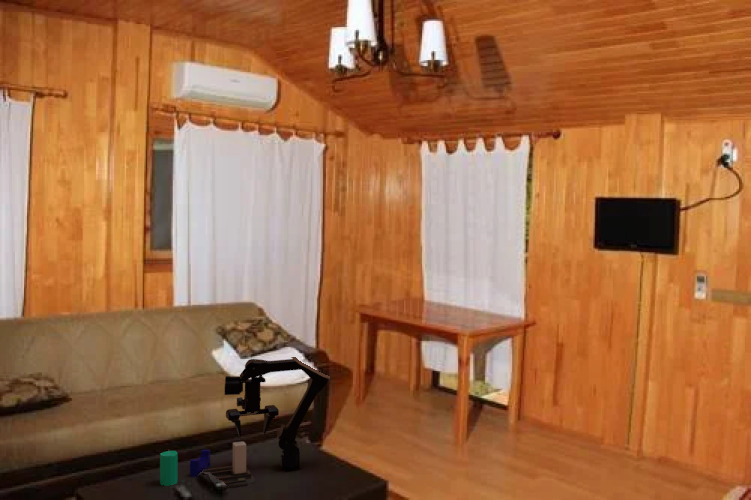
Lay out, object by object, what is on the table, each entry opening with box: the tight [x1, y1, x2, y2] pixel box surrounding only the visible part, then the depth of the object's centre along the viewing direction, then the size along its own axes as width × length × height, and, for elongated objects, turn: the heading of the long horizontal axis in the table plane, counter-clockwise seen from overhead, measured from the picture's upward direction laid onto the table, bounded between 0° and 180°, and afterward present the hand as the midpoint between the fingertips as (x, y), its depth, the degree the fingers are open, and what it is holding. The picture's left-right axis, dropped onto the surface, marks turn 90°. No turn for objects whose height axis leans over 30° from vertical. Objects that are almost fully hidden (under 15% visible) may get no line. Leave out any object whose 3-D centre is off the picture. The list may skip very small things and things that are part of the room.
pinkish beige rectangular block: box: [231, 441, 248, 476], centre depth 242 cm, size 5×4×11 cm
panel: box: [210, 467, 255, 487], centre depth 241 cm, size 14×12×2 cm
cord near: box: [228, 482, 249, 488], centre depth 235 cm, size 7×1×1 cm, turn 114°
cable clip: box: [189, 449, 211, 478], centre depth 249 cm, size 12×4×6 cm, turn 173°
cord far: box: [202, 464, 249, 472], centre depth 249 cm, size 17×3×1 cm, turn 114°
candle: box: [159, 450, 179, 487], centre depth 237 cm, size 6×6×12 cm
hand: (252, 435), depth 250 cm, fingers open, 9 cm apart
